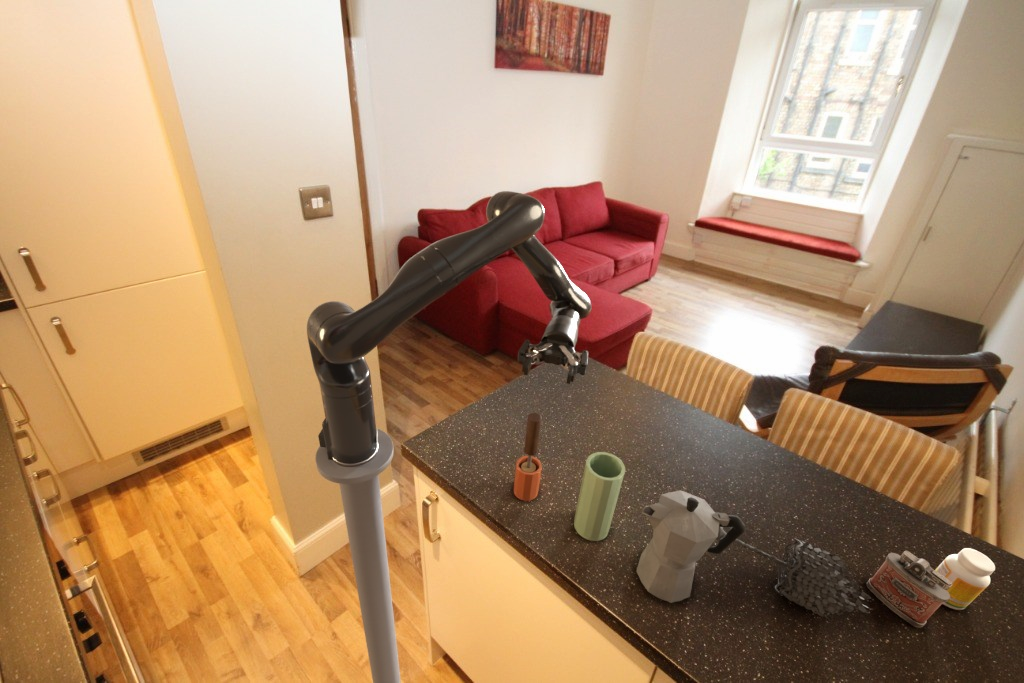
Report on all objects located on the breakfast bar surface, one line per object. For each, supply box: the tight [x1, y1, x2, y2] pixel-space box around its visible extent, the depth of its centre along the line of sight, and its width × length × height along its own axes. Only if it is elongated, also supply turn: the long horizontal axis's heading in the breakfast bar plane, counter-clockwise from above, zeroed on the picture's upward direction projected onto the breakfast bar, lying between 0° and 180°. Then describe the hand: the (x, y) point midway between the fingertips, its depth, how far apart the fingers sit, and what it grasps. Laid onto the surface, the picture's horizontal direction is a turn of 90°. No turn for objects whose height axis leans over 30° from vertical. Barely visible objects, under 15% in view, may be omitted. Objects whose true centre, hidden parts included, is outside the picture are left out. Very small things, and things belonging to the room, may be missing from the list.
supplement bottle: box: [935, 547, 996, 611], centre depth 72 cm, size 5×5×10 cm
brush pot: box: [513, 455, 543, 502], centre depth 85 cm, size 5×5×7 cm
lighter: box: [866, 550, 952, 629], centre depth 70 cm, size 8×3×10 cm, turn 27°
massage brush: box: [715, 527, 875, 620], centre depth 72 cm, size 9×22×9 cm, turn 58°
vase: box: [573, 451, 626, 542], centre depth 78 cm, size 6×6×15 cm
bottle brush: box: [521, 412, 542, 473], centre depth 83 cm, size 3×3×18 cm
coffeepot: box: [635, 489, 746, 604], centre depth 69 cm, size 15×9×18 cm, turn 85°
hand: (547, 375), depth 87 cm, fingers open, 8 cm apart
